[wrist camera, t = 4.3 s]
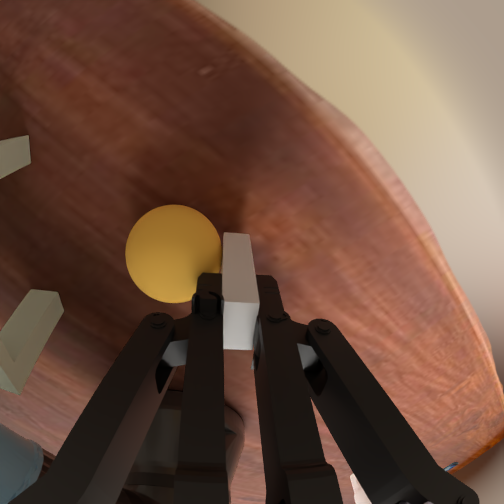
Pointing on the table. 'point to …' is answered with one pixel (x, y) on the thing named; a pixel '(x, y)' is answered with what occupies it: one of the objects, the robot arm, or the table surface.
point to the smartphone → (450, 466)
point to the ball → (172, 252)
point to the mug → (359, 492)
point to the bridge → (24, 300)
